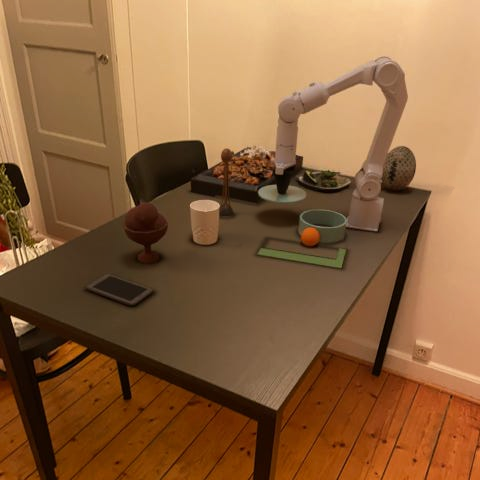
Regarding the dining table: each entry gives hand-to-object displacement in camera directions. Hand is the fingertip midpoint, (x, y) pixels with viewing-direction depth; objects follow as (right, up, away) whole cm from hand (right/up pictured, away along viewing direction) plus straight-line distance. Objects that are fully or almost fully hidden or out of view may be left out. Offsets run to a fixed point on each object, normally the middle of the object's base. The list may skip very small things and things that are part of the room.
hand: (282, 191), depth 138 cm
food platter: (-9, +14, +35) cm, 39 cm away
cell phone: (-40, -31, -31) cm, 59 cm away
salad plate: (+17, +11, +33) cm, 39 cm away
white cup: (-22, -16, -8) cm, 28 cm away
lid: (0, -1, 0) cm, 1 cm away
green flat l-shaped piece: (+4, -20, -13) cm, 24 cm away
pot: (+11, -13, -3) cm, 17 cm away
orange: (+6, -15, -11) cm, 20 cm away
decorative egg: (+43, +9, +30) cm, 53 cm away
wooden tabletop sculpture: (-17, -5, +7) cm, 19 cm away
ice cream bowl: (-36, -22, -17) cm, 46 cm away
